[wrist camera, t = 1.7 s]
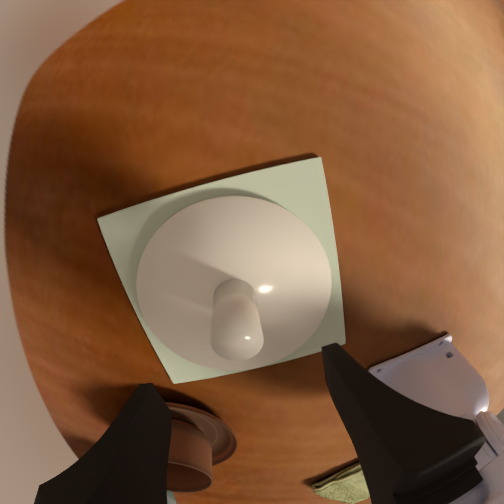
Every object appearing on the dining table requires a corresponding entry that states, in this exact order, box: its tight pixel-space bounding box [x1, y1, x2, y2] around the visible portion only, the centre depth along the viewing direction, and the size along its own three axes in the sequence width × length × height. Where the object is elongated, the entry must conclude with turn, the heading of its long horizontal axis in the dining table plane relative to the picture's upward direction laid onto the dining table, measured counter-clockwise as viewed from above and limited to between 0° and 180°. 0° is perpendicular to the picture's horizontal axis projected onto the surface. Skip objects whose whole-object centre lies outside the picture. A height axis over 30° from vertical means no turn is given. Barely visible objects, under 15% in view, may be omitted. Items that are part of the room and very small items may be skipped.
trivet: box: [97, 157, 346, 384], centre depth 19 cm, size 14×14×1 cm
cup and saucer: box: [117, 402, 237, 492], centre depth 22 cm, size 12×12×6 cm
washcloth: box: [311, 462, 370, 504], centre depth 33 cm, size 13×18×3 cm
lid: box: [136, 195, 332, 370], centre depth 16 cm, size 12×12×5 cm
